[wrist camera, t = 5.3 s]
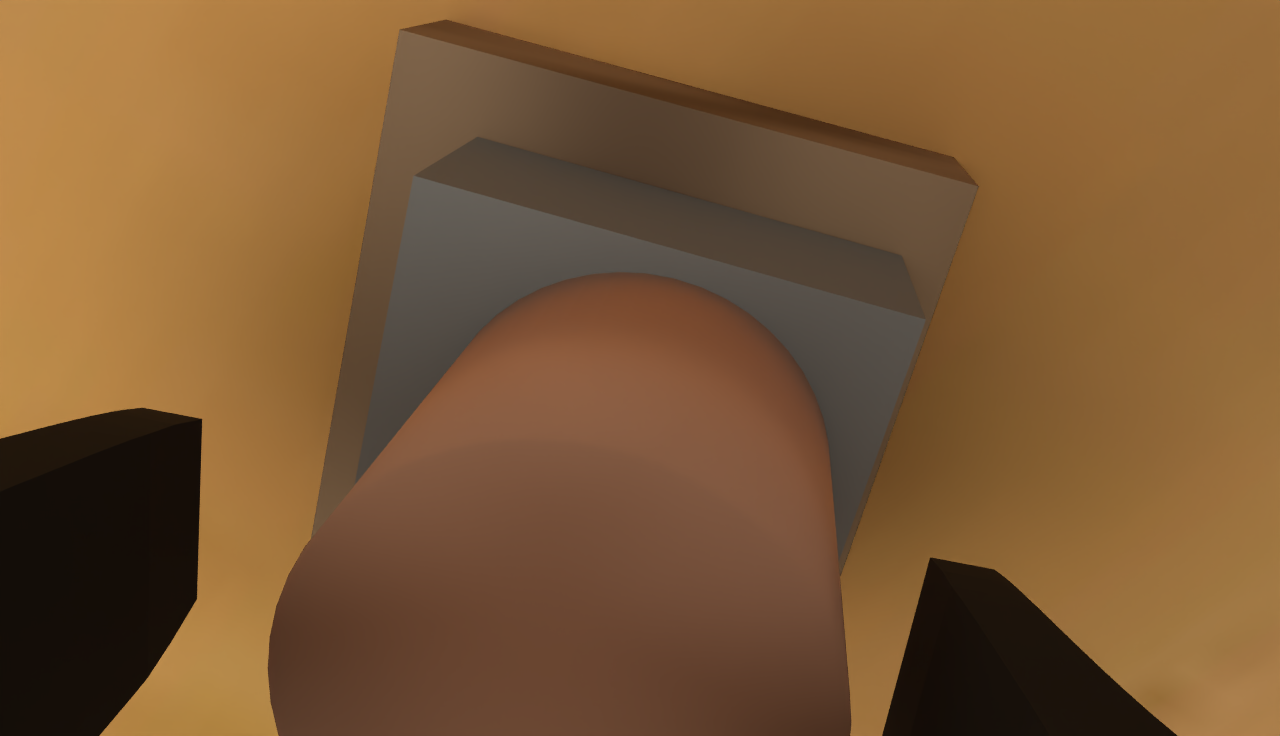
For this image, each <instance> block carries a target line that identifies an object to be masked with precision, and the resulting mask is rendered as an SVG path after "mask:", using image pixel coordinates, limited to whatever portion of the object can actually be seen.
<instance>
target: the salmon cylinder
mask: <svg viewBox="0 0 1280 736" xmlns="http://www.w3.org/2000/svg"><path fill="white" fill-rule="evenodd" d="M268 677H269V688H270V699H271V705H272V709H273V714H274V718H275V722H276V727H277V731H278V735H279V736H850V731H851V709H850V691H849V678H848V667H847V655H846V643H845V631H844V620H843V608H842V596H841V584H840V573H839V561H838V549H837V537H836V526H835V514H834V502H833V491H832V479H831V467H830V455H829V444H828V438H827V433H826V428H825V424H824V419H823V416H822V413H821V410H820V407H819V405H818V402H817V399H816V396H815V394H814V392H813V390H812V388H811V386H810V384H809V382H808V380H807V378H806V376H805V375H804V373H803V371H802V369H801V368H800V367H799V365H798V364H797V362H796V361H795V360H794V358H793V357H792V355H791V354H790V353H789V351H788V350H787V349H786V348H785V347H784V345H783V344H782V343H781V342H780V341H779V340H778V339H777V338H776V337H775V336H774V335H773V334H772V333H771V332H770V330H768V329H767V328H766V327H765V326H764V325H762V324H761V323H760V322H759V321H757V320H756V319H755V318H754V317H753V316H751V315H750V314H749V313H748V312H746V311H744V310H743V309H741V308H740V307H738V306H736V305H735V304H733V303H732V302H730V301H729V300H727V299H725V298H723V297H721V296H719V295H717V294H715V293H712V292H710V291H708V290H706V289H704V288H702V287H699V286H696V285H693V284H690V283H687V282H683V281H680V280H677V279H674V278H669V277H663V276H658V275H652V274H647V273H629V272H613V273H599V274H590V275H585V276H580V277H575V278H571V279H566V280H563V281H560V282H557V283H555V284H552V285H549V286H546V287H543V288H541V289H539V290H537V291H535V292H533V293H531V294H529V295H527V296H525V297H523V298H521V299H519V300H517V301H516V302H515V303H513V304H512V305H510V306H509V307H507V308H506V309H504V310H503V311H502V312H500V313H499V314H497V315H496V316H495V317H494V318H493V319H492V320H491V321H490V322H489V323H488V324H487V325H486V326H484V327H483V328H482V329H481V330H480V331H479V332H478V333H477V335H476V336H475V337H474V338H473V340H472V341H471V342H470V343H469V345H468V346H467V347H466V348H465V350H464V351H463V352H462V353H461V354H460V356H459V357H458V358H457V359H456V361H455V362H454V363H453V364H452V366H451V367H450V368H449V369H448V371H447V372H446V373H445V374H444V375H443V377H442V378H441V379H440V380H439V382H438V383H437V384H436V385H435V387H434V388H433V389H432V390H431V392H430V393H429V394H428V395H427V396H426V398H425V399H424V400H423V401H422V403H421V404H420V405H419V406H418V408H417V409H416V410H415V411H414V413H413V414H412V415H411V416H410V417H409V419H408V420H407V421H406V422H405V424H404V425H403V426H402V427H401V429H400V430H399V431H398V432H397V434H396V435H395V436H394V437H393V438H392V440H391V441H390V442H389V443H388V445H387V446H386V447H385V448H384V450H383V451H382V452H381V453H380V455H379V456H378V457H377V458H376V459H375V461H374V462H373V463H372V464H371V466H370V467H369V468H368V469H367V471H366V472H365V473H364V474H363V476H362V477H361V478H360V479H359V480H358V482H357V483H356V484H355V485H354V487H353V488H352V489H351V490H350V492H349V493H348V494H347V495H346V497H345V498H344V499H343V500H342V501H341V503H340V504H339V505H338V506H337V508H336V509H335V510H334V511H333V513H332V514H331V515H330V516H329V518H328V519H327V520H326V521H325V522H324V524H323V525H322V526H321V527H320V529H319V530H318V531H317V532H316V534H315V535H314V536H313V537H312V539H311V540H310V541H309V542H308V544H307V545H306V546H305V547H304V549H303V551H302V553H301V554H300V556H299V558H298V560H297V561H296V563H295V565H294V566H293V568H292V570H291V572H290V573H289V575H288V578H287V580H286V583H285V585H284V588H283V591H282V593H281V596H280V598H279V601H278V604H277V606H276V611H275V616H274V620H273V625H272V630H271V634H270V642H269V659H268Z"/></svg>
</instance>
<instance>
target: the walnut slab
mask: <svg viewBox="0 0 1280 736" xmlns="http://www.w3.org/2000/svg"><path fill="white" fill-rule="evenodd" d="M476 137H480V138H483V139H487V140H491V141H494V142H498V143H501V144H505V145H508V146H512V147H516V148H519V149H523V150H526V151H530V152H533V153H537V154H541V155H544V156H548V157H551V158H555V159H558V160H562V161H566V162H569V163H573V164H576V165H580V166H583V167H587V168H591V169H594V170H598V171H601V172H605V173H608V174H612V175H616V176H619V177H623V178H626V179H630V180H633V181H637V182H641V183H644V184H648V185H651V186H655V187H658V188H662V189H666V190H669V191H673V192H676V193H680V194H683V195H687V196H691V197H694V198H698V199H701V200H705V201H708V202H712V203H716V204H719V205H723V206H726V207H730V208H733V209H737V210H741V211H744V212H748V213H751V214H755V215H758V216H762V217H766V218H769V219H773V220H776V221H780V222H783V223H787V224H791V225H794V226H798V227H801V228H805V229H808V230H812V231H816V232H819V233H823V234H826V235H830V236H833V237H837V238H841V239H844V240H848V241H851V242H855V243H858V244H862V245H866V246H869V247H873V248H876V249H880V250H883V251H887V252H891V253H894V254H898V255H901V256H902V258H903V260H904V263H905V266H906V268H907V271H908V274H909V276H910V279H911V281H912V284H913V287H914V289H915V292H916V295H917V297H918V300H919V303H920V305H921V308H922V310H923V313H924V316H925V318H926V321H925V324H924V327H923V329H922V332H921V335H920V338H919V340H918V343H917V346H916V349H915V352H914V354H913V357H912V360H911V363H910V365H909V368H908V371H907V374H906V377H905V379H904V382H903V385H902V388H901V390H900V393H899V396H898V399H897V401H896V404H895V407H894V410H893V413H892V415H891V418H890V421H889V424H888V426H887V429H886V432H885V435H884V438H883V440H882V443H881V446H880V449H879V451H878V454H877V457H876V460H875V463H874V465H873V468H872V471H871V474H870V476H869V479H868V482H867V485H866V487H865V490H864V493H863V496H862V499H861V501H860V504H859V507H858V510H857V512H856V515H855V518H854V521H853V524H852V526H851V529H850V532H849V535H848V537H847V540H846V543H845V546H844V549H843V551H842V554H841V557H840V560H839V573H840V576H841V573H842V570H843V567H844V565H845V562H846V559H847V556H848V553H849V551H850V548H851V545H852V542H853V539H854V536H855V534H856V531H857V528H858V525H859V522H860V520H861V517H862V514H863V511H864V508H865V505H866V503H867V500H868V497H869V494H870V491H871V488H872V486H873V483H874V480H875V477H876V474H877V472H878V469H879V466H880V463H881V460H882V457H883V455H884V452H885V449H886V446H887V443H888V441H889V438H890V435H891V432H892V429H893V426H894V424H895V421H896V418H897V415H898V412H899V409H900V407H901V404H902V401H903V398H904V395H905V393H906V390H907V387H908V384H909V381H910V378H911V376H912V373H913V370H914V367H915V364H916V362H917V359H918V356H919V353H920V350H921V347H922V345H923V342H924V339H925V336H926V333H927V330H928V328H929V325H930V322H931V319H932V316H933V314H934V311H935V308H936V305H937V302H938V299H939V297H940V294H941V291H942V288H943V285H944V283H945V280H946V277H947V274H948V271H949V268H950V266H951V263H952V260H953V257H954V254H955V251H956V249H957V246H958V243H959V240H960V237H961V235H962V232H963V229H964V226H965V223H966V220H967V218H968V215H969V212H970V209H971V206H972V204H973V201H974V198H975V195H976V192H977V189H978V187H979V186H978V185H977V184H976V183H975V182H974V180H973V179H972V178H971V177H970V176H969V175H968V173H967V172H966V171H965V170H964V169H963V168H962V166H961V165H960V164H959V163H958V162H957V161H956V160H955V158H954V157H951V156H947V155H943V154H939V153H936V152H932V151H928V150H925V149H921V148H917V147H914V146H910V145H906V144H903V143H899V142H895V141H891V140H888V139H884V138H880V137H877V136H873V135H869V134H866V133H862V132H858V131H855V130H851V129H847V128H844V127H840V126H836V125H832V124H829V123H825V122H821V121H818V120H814V119H810V118H807V117H803V116H799V115H796V114H792V113H788V112H784V111H781V110H777V109H773V108H770V107H766V106H762V105H759V104H755V103H751V102H748V101H744V100H740V99H736V98H733V97H729V96H725V95H722V94H718V93H714V92H711V91H707V90H703V89H700V88H696V87H692V86H689V85H685V84H681V83H677V82H674V81H670V80H666V79H663V78H659V77H655V76H652V75H648V74H644V73H641V72H637V71H633V70H629V69H626V68H622V67H618V66H615V65H611V64H607V63H604V62H600V61H596V60H593V59H589V58H585V57H581V56H578V55H574V54H570V53H567V52H563V51H559V50H556V49H552V48H548V47H545V46H541V45H537V44H533V43H530V42H526V41H522V40H519V39H515V38H511V37H508V36H504V35H500V34H497V33H493V32H489V31H485V30H482V29H478V28H474V27H471V26H467V25H463V24H460V23H456V22H452V21H449V20H443V21H438V22H434V23H429V24H424V25H419V26H414V27H410V28H405V29H400V30H399V36H398V42H397V48H396V53H395V59H394V65H393V71H392V76H391V82H390V88H389V94H388V99H387V105H386V111H385V117H384V122H383V128H382V134H381V140H380V145H379V151H378V157H377V163H376V168H375V174H374V180H373V186H372V191H371V197H370V203H369V209H368V214H367V220H366V226H365V232H364V237H363V243H362V249H361V255H360V260H359V266H358V272H357V278H356V283H355V289H354V295H353V301H352V307H351V312H350V318H349V324H348V330H347V335H346V341H345V347H344V353H343V358H342V364H341V370H340V376H339V381H338V387H337V393H336V399H335V404H334V410H333V416H332V422H331V427H330V433H329V439H328V445H327V450H326V456H325V462H324V468H323V473H322V479H321V485H320V491H319V496H318V502H317V508H316V514H315V519H314V525H313V531H312V537H313V536H314V535H315V534H316V532H317V531H318V530H319V529H320V527H321V526H322V525H323V524H324V522H325V521H326V520H327V519H328V518H329V516H330V515H331V514H332V513H333V511H334V510H335V509H336V508H337V506H338V505H339V504H340V503H341V501H342V500H343V499H344V498H345V497H346V495H347V494H348V493H349V492H350V490H351V489H352V488H353V487H354V485H355V479H356V474H357V469H358V464H359V458H360V453H361V448H362V443H363V437H364V432H365V427H366V422H367V416H368V411H369V406H370V401H371V396H372V390H373V385H374V380H375V375H376V369H377V364H378V359H379V354H380V348H381V343H382V338H383V333H384V327H385V322H386V317H387V312H388V307H389V301H390V296H391V291H392V286H393V280H394V275H395V270H396V265H397V259H398V254H399V249H400V244H401V238H402V233H403V228H404V223H405V218H406V212H407V207H408V202H409V197H410V191H411V186H412V181H413V176H414V175H415V174H417V173H419V172H420V171H422V170H424V169H425V168H427V167H429V166H430V165H432V164H433V163H435V162H437V161H438V160H440V159H442V158H443V157H445V156H447V155H448V154H450V153H452V152H453V151H455V150H457V149H458V148H460V147H461V146H463V145H465V144H466V143H468V142H470V141H471V140H473V139H475V138H476ZM312 537H311V539H312Z"/></svg>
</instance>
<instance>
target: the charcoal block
mask: <svg viewBox="0 0 1280 736" xmlns="http://www.w3.org/2000/svg"><path fill="white" fill-rule="evenodd" d="M613 272H629V273H647V274H652V275H658V276H663V277H669V278H674V279H677V280H680V281H683V282H687V283H690V284H693V285H696V286H699V287H702V288H704V289H706V290H708V291H710V292H712V293H715V294H717V295H719V296H721V297H723V298H725V299H727V300H729V301H730V302H732V303H733V304H735V305H736V306H738V307H740V308H741V309H743V310H744V311H746V312H748V313H749V314H750V315H751V316H753V317H754V318H755V319H756V320H757V321H759V322H760V323H761V324H762V325H764V326H765V327H766V328H767V329H768V330H770V332H771V333H772V334H773V335H774V336H775V337H776V338H777V339H778V340H779V341H780V342H781V343H782V344H783V345H784V347H785V348H786V349H787V350H788V351H789V353H790V354H791V355H792V357H793V358H794V360H795V361H796V362H797V364H798V365H799V367H800V368H801V369H802V371H803V373H804V375H805V376H806V378H807V380H808V382H809V384H810V386H811V388H812V390H813V392H814V394H815V396H816V399H817V402H818V405H819V407H820V410H821V413H822V416H823V419H824V424H825V428H826V433H827V438H828V444H829V455H830V467H831V479H832V491H833V502H834V514H835V526H836V537H837V549H838V561H839V560H840V557H841V554H842V551H843V549H844V546H845V543H846V540H847V537H848V535H849V532H850V529H851V526H852V524H853V521H854V518H855V515H856V512H857V510H858V507H859V504H860V501H861V499H862V496H863V493H864V490H865V487H866V485H867V482H868V479H869V476H870V474H871V471H872V468H873V465H874V463H875V460H876V457H877V454H878V451H879V449H880V446H881V443H882V440H883V438H884V435H885V432H886V429H887V426H888V424H889V421H890V418H891V415H892V413H893V410H894V407H895V404H896V401H897V399H898V396H899V393H900V390H901V388H902V385H903V382H904V379H905V377H906V374H907V371H908V368H909V365H910V363H911V360H912V357H913V354H914V352H915V349H916V346H917V343H918V340H919V338H920V335H921V332H922V329H923V327H924V324H925V321H926V318H925V316H924V313H923V310H922V308H921V305H920V303H919V300H918V297H917V295H916V292H915V289H914V287H913V284H912V281H911V279H910V276H909V274H908V271H907V268H906V266H905V263H904V260H903V258H902V256H901V255H898V254H894V253H891V252H887V251H883V250H880V249H876V248H873V247H869V246H866V245H862V244H858V243H855V242H851V241H848V240H844V239H841V238H837V237H833V236H830V235H826V234H823V233H819V232H816V231H812V230H808V229H805V228H801V227H798V226H794V225H791V224H787V223H783V222H780V221H776V220H773V219H769V218H766V217H762V216H758V215H755V214H751V213H748V212H744V211H741V210H737V209H733V208H730V207H726V206H723V205H719V204H716V203H712V202H708V201H705V200H701V199H698V198H694V197H691V196H687V195H683V194H680V193H676V192H673V191H669V190H666V189H662V188H658V187H655V186H651V185H648V184H644V183H641V182H637V181H633V180H630V179H626V178H623V177H619V176H616V175H612V174H608V173H605V172H601V171H598V170H594V169H591V168H587V167H583V166H580V165H576V164H573V163H569V162H566V161H562V160H558V159H555V158H551V157H548V156H544V155H541V154H537V153H533V152H530V151H526V150H523V149H519V148H516V147H512V146H508V145H505V144H501V143H498V142H494V141H491V140H487V139H483V138H480V137H476V138H475V139H473V140H471V141H470V142H468V143H466V144H465V145H463V146H461V147H460V148H458V149H457V150H455V151H453V152H452V153H450V154H448V155H447V156H445V157H443V158H442V159H440V160H438V161H437V162H435V163H433V164H432V165H430V166H429V167H427V168H425V169H424V170H422V171H420V172H419V173H417V174H415V175H414V176H413V181H412V186H411V191H410V197H409V202H408V207H407V212H406V218H405V223H404V228H403V233H402V238H401V244H400V249H399V254H398V259H397V265H396V270H395V275H394V280H393V286H392V291H391V296H390V301H389V307H388V312H387V317H386V322H385V327H384V333H383V338H382V343H381V348H380V354H379V359H378V364H377V369H376V375H375V380H374V385H373V390H372V396H371V401H370V406H369V411H368V416H367V422H366V427H365V432H364V437H363V443H362V448H361V453H360V458H359V464H358V469H357V474H356V479H355V484H356V483H357V482H358V480H359V479H360V478H361V477H362V476H363V474H364V473H365V472H366V471H367V469H368V468H369V467H370V466H371V464H372V463H373V462H374V461H375V459H376V458H377V457H378V456H379V455H380V453H381V452H382V451H383V450H384V448H385V447H386V446H387V445H388V443H389V442H390V441H391V440H392V438H393V437H394V436H395V435H396V434H397V432H398V431H399V430H400V429H401V427H402V426H403V425H404V424H405V422H406V421H407V420H408V419H409V417H410V416H411V415H412V414H413V413H414V411H415V410H416V409H417V408H418V406H419V405H420V404H421V403H422V401H423V400H424V399H425V398H426V396H427V395H428V394H429V393H430V392H431V390H432V389H433V388H434V387H435V385H436V384H437V383H438V382H439V380H440V379H441V378H442V377H443V375H444V374H445V373H446V372H447V371H448V369H449V368H450V367H451V366H452V364H453V363H454V362H455V361H456V359H457V358H458V357H459V356H460V354H461V353H462V352H463V351H464V350H465V348H466V347H467V346H468V345H469V343H470V342H471V341H472V340H473V338H474V337H475V336H476V335H477V333H478V332H479V331H480V330H481V329H482V328H483V327H484V326H486V325H487V324H488V323H489V322H490V321H491V320H492V319H493V318H494V317H495V316H496V315H497V314H499V313H500V312H502V311H503V310H504V309H506V308H507V307H509V306H510V305H512V304H513V303H515V302H516V301H517V300H519V299H521V298H523V297H525V296H527V295H529V294H531V293H533V292H535V291H537V290H539V289H541V288H543V287H546V286H549V285H552V284H555V283H557V282H560V281H563V280H566V279H571V278H575V277H580V276H585V275H590V274H599V273H613Z"/></svg>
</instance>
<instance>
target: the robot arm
mask: <svg viewBox="0 0 1280 736" xmlns="http://www.w3.org/2000/svg"><path fill="white" fill-rule="evenodd" d="M201 438H202V419H199V418H194V417H188V416H183V415H178V414H173V413H167V412H162V411H157V410H152V409H146V408H137V409H127V410H120V411H114V412H109V413H104V414H99V415H94V416H89V417H85V418H81V419H76V420H72V421H68V422H64V423H60V424H56V425H52V426H48V427H44V428H40V429H36V430H32V431H29V432H25V433H21V434H17V435H13V436H9V437H5V438H1V439H0V736H99V735H100V734H101V733H102V732H103V731H104V729H105V728H106V727H107V726H108V725H109V723H110V722H111V721H112V720H113V719H114V718H115V716H116V715H117V714H118V713H119V712H120V710H121V709H122V708H123V707H124V706H125V705H126V703H127V702H128V701H129V700H130V699H131V697H132V696H133V695H134V694H135V693H136V691H137V690H138V689H139V688H140V686H141V685H142V684H143V683H144V682H145V680H146V679H147V678H148V676H149V675H150V673H151V672H152V670H153V669H154V667H155V666H156V664H157V663H158V661H159V660H160V658H161V657H162V655H163V654H164V652H165V650H166V649H167V647H168V646H169V644H170V643H171V641H172V640H173V638H174V636H175V635H176V633H177V631H178V630H179V628H180V626H181V625H182V623H183V621H184V620H185V618H186V616H187V615H188V613H189V611H190V610H191V608H192V606H193V605H194V603H195V601H196V600H197V577H198V542H199V508H200V473H201ZM882 736H1177V735H1176V734H1175V733H1174V732H1172V731H1171V730H1170V729H1169V728H1168V727H1166V726H1165V725H1164V724H1163V723H1162V722H1160V721H1159V720H1158V719H1157V718H1156V717H1155V716H1153V715H1152V714H1151V713H1150V712H1149V711H1148V710H1146V709H1145V708H1144V707H1143V706H1142V705H1141V704H1140V703H1139V702H1137V701H1136V700H1135V699H1134V698H1133V697H1132V696H1131V695H1130V694H1128V693H1127V692H1126V691H1125V690H1124V689H1123V688H1122V687H1121V686H1120V685H1118V684H1117V683H1116V682H1115V681H1114V680H1113V679H1112V678H1111V677H1110V676H1109V675H1108V674H1106V673H1105V672H1104V671H1103V670H1102V669H1101V668H1100V667H1099V666H1098V665H1097V664H1096V663H1095V662H1094V661H1093V660H1092V659H1091V658H1089V657H1088V656H1087V655H1086V654H1085V653H1084V652H1083V651H1082V650H1081V649H1080V648H1079V647H1078V646H1077V645H1076V644H1075V643H1074V642H1073V641H1072V640H1071V639H1070V638H1069V637H1068V636H1067V635H1065V634H1064V633H1063V632H1062V631H1061V630H1060V629H1059V628H1058V627H1057V626H1056V625H1055V624H1054V623H1053V622H1052V621H1051V620H1050V619H1049V618H1048V617H1047V616H1046V615H1045V614H1044V613H1043V612H1042V611H1041V610H1040V609H1039V608H1038V607H1037V606H1036V605H1035V604H1033V603H1032V602H1031V601H1030V600H1029V599H1028V598H1027V597H1026V596H1025V595H1024V594H1023V593H1022V592H1021V591H1020V590H1019V589H1017V588H1016V587H1015V586H1014V585H1013V584H1012V583H1011V582H1010V581H1008V580H1007V579H1006V578H1005V577H1004V576H1002V575H1001V574H1000V573H998V572H997V571H996V570H993V569H988V568H983V567H978V566H972V565H967V564H962V563H957V562H951V561H946V560H941V559H936V558H930V560H929V564H928V568H927V571H926V575H925V579H924V583H923V586H922V590H921V594H920V597H919V601H918V605H917V609H916V612H915V616H914V620H913V623H912V627H911V631H910V635H909V638H908V642H907V646H906V649H905V653H904V657H903V661H902V664H901V668H900V672H899V675H898V679H897V683H896V687H895V690H894V694H893V698H892V701H891V705H890V709H889V713H888V716H887V720H886V724H885V727H884V731H883V735H882Z"/></svg>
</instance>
